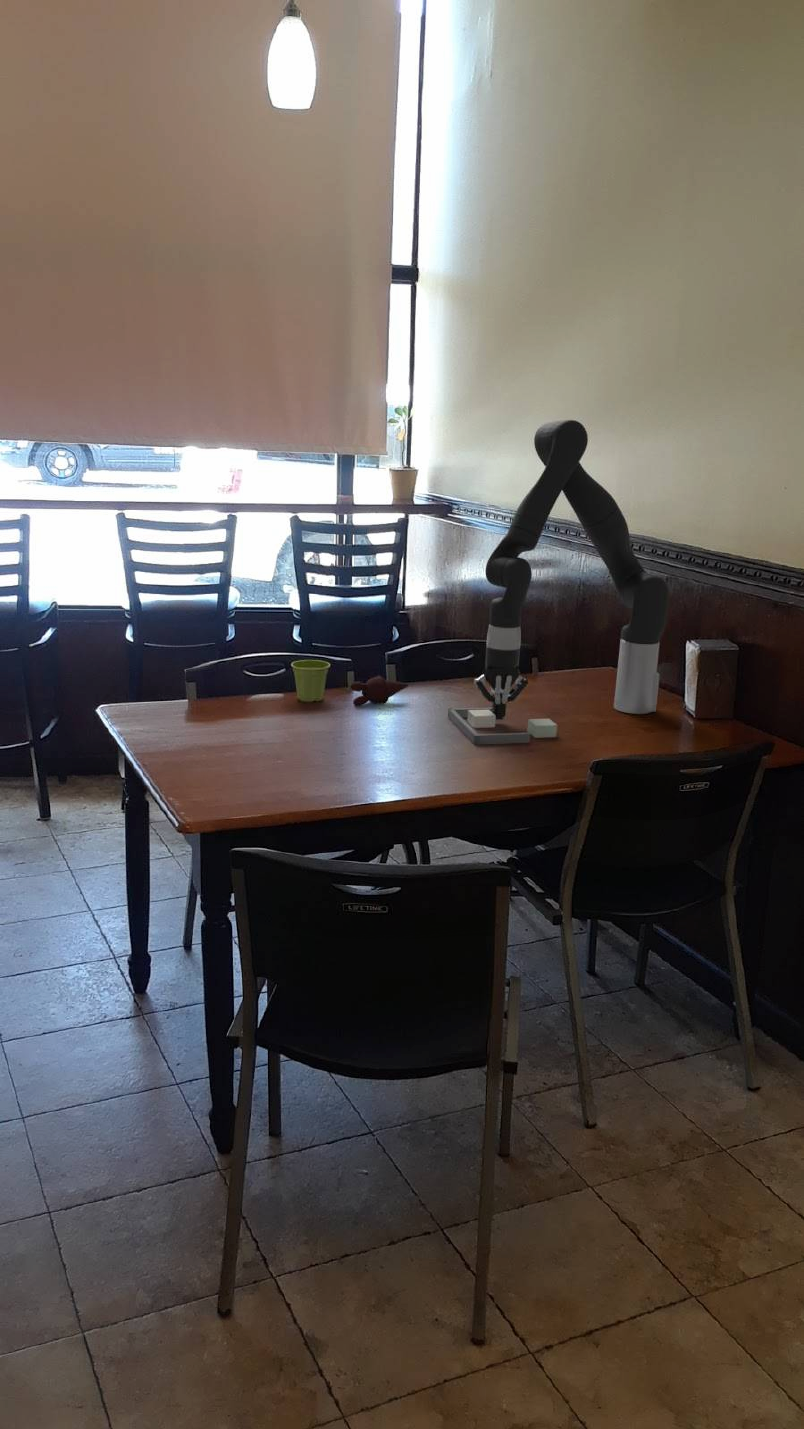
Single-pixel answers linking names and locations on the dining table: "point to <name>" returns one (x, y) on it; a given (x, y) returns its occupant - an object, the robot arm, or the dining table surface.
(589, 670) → the dining table surface
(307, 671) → the plant pot
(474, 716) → the tile cream
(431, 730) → the dining table surface
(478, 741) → the grey u-shaped frame
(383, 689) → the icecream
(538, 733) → the tile sage
